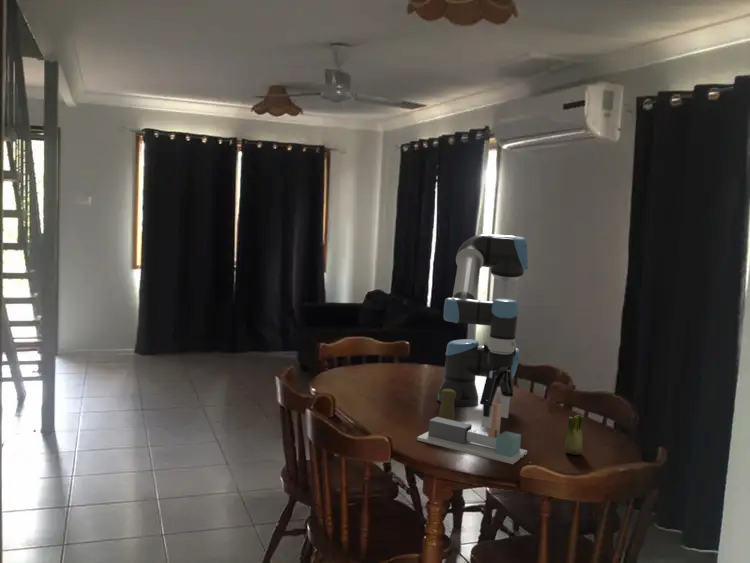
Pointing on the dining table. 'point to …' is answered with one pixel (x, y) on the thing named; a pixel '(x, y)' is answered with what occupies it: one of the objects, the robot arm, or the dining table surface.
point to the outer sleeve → (448, 430)
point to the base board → (472, 448)
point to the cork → (447, 404)
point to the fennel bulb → (574, 436)
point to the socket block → (508, 444)
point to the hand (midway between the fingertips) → (494, 422)
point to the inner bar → (493, 432)
